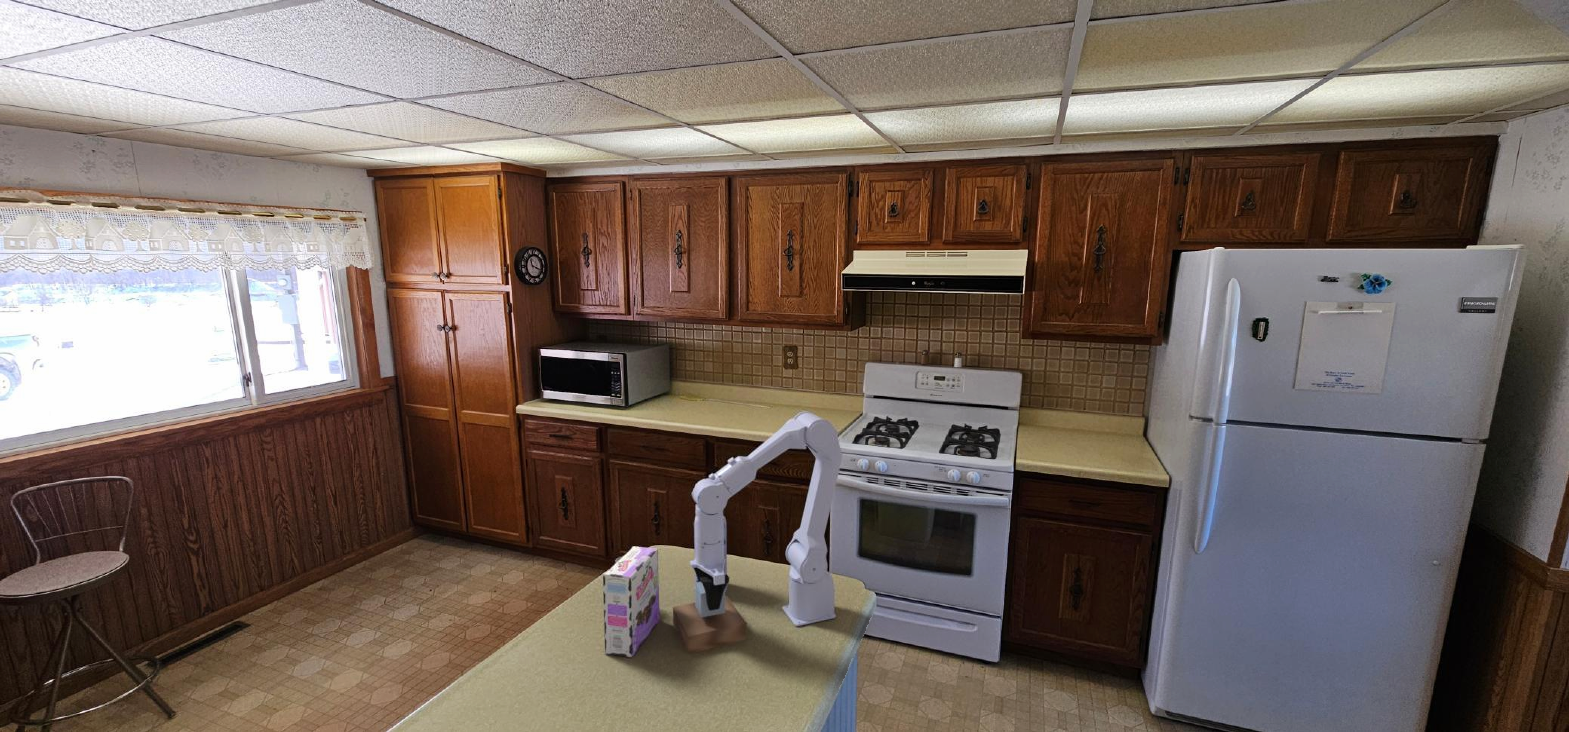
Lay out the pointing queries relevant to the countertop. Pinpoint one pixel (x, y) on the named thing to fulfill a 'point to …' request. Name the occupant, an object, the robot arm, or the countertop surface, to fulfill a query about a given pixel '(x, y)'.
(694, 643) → the walnut slab
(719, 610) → the slate cube
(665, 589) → the countertop surface
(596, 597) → the countertop surface
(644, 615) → the candy box
